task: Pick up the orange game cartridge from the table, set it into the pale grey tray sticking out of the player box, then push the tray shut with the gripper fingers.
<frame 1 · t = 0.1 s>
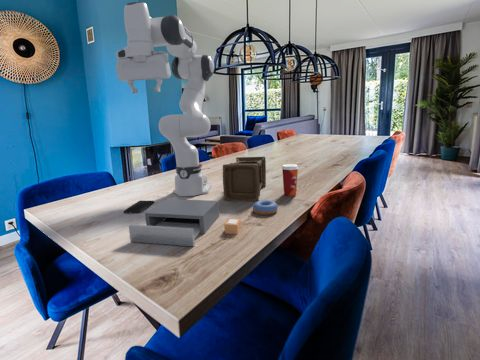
hand: (146, 92, 108), 48 cm above the table, tool pointing down, fingers open, 8 cm apart
phone: (139, 208, 130), on the table
ornamental box: (248, 191, 148), on the table
doughnut: (265, 212, 118), on the table
cartridge: (233, 231, 101), on the table
player: (184, 223, 110), on the table
paper cup: (290, 194, 138), on the table
tray: (171, 226, 100), point 3 cm above the table, slide at 8.0 cm
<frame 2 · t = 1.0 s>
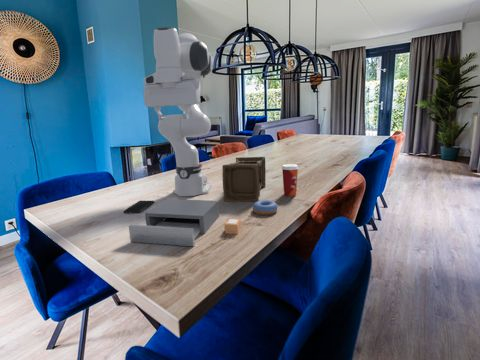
hand: (173, 119, 104), 38 cm above the table, tool pointing down, fingers open, 8 cm apart
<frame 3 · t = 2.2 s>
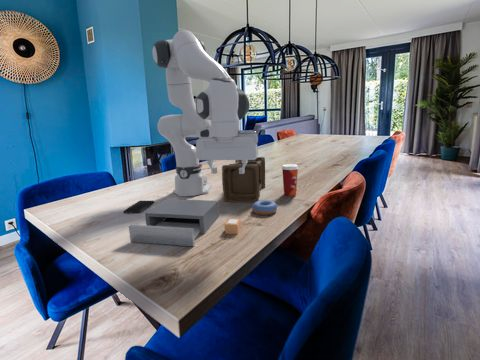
hand: (227, 173, 96), 20 cm above the table, tool pointing down, fingers open, 8 cm apart
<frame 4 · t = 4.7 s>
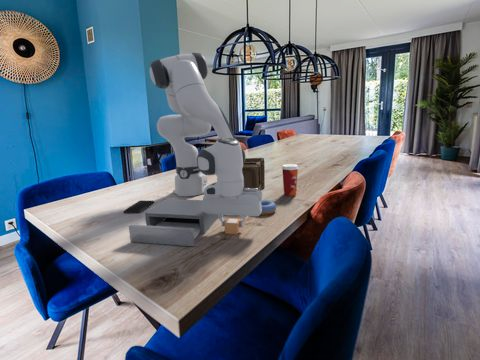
hand: (232, 226, 101), 2 cm above the table, tool pointing down, fingers closed on cartridge, 5 cm apart
ornamental box: (247, 193, 145), on the table
cartridge: (233, 230, 101), on the table, touching gripper
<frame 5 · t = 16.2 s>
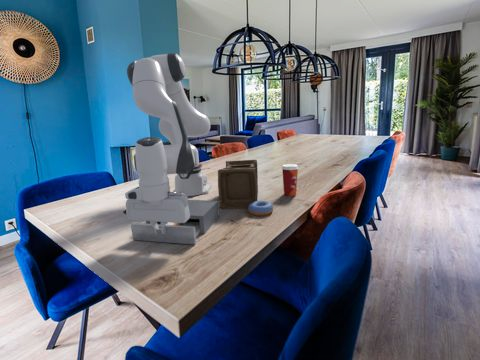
hand: (160, 233, 92), 4 cm above the table, tool pointing down, fingers closed, pressing on tray
ornamental box: (241, 196, 139), on the table
doughnut: (260, 213, 117), on the table
cartridge: (170, 233, 99), point 1 cm above the table, touching tray
tray: (173, 224, 101), point 3 cm above the table, slide at 6.7 cm, touching cartridge, gripper
everything else where it was.
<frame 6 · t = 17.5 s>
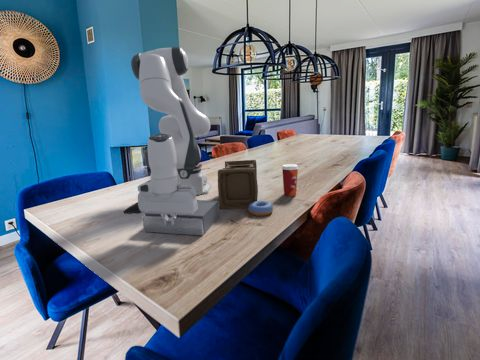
hand: (170, 224, 99), 4 cm above the table, tool pointing down, fingers closed, pressing on tray
cartridge: (179, 225, 105), point 1 cm above the table, touching tray
tray: (181, 217, 107), point 3 cm above the table, slide at 0.1 cm, touching cartridge, gripper
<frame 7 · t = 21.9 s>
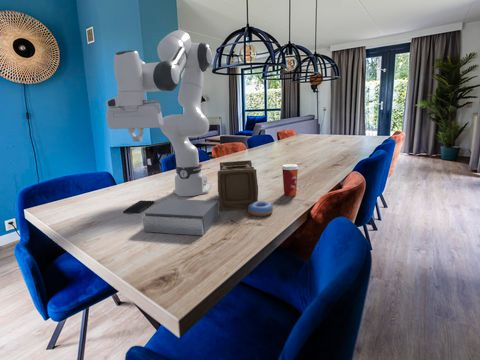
hand: (137, 141, 104), 31 cm above the table, tool pointing down, fingers closed
ornamental box: (237, 197, 138), on the table
tray: (181, 217, 107), point 3 cm above the table, slide at 0.1 cm, touching cartridge
at the end: tray slide at 0.1 cm; cartridge 0.1 cm from the target spot on the player, point 0.9 cm above the player's base; cartridge tilted 0° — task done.
